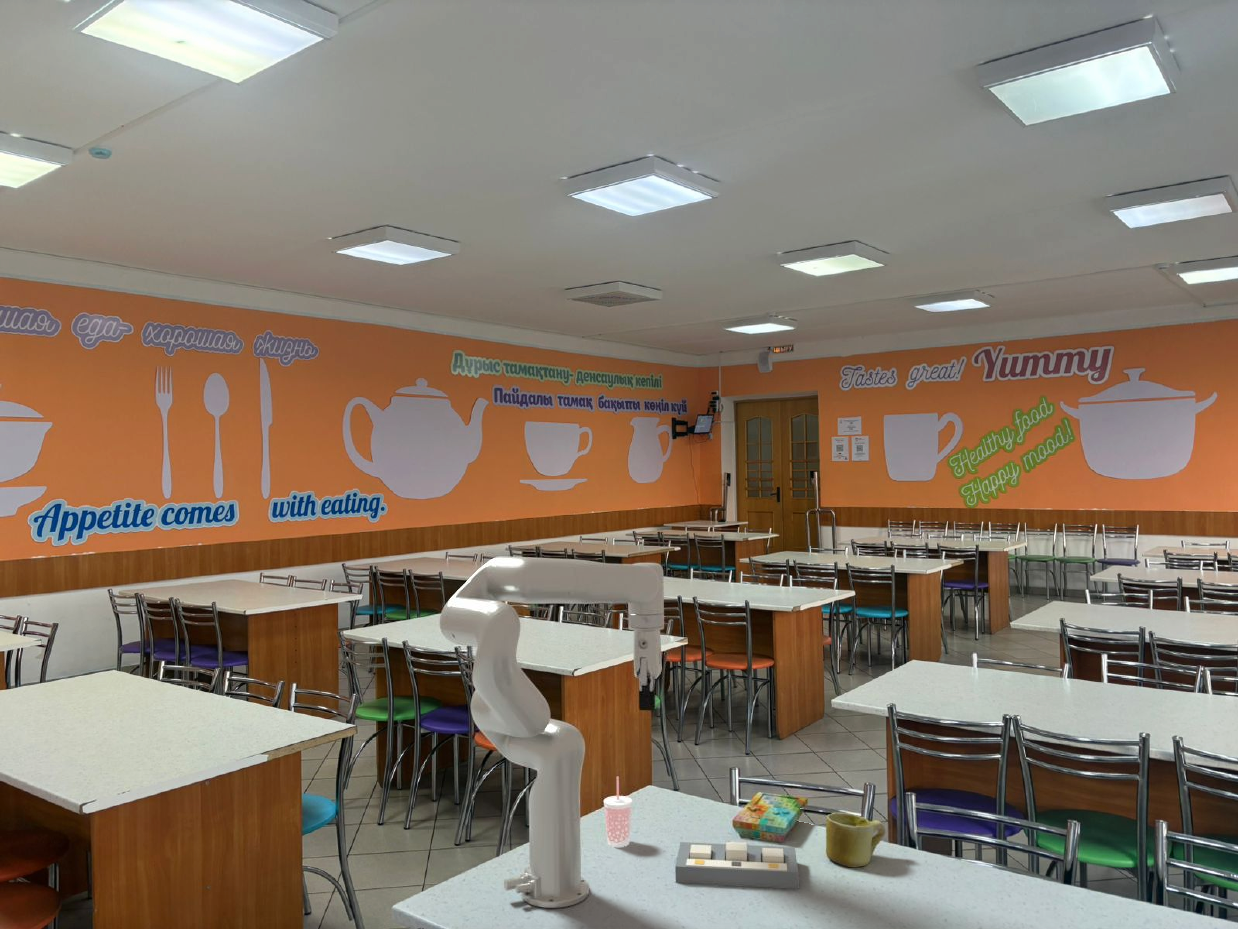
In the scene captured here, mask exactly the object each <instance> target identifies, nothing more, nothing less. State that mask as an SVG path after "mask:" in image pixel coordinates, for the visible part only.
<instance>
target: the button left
mask: <svg viewBox="0 0 1238 929" xmlns="http://www.w3.org/2000/svg"><path fill="white" fill-rule="evenodd" d="M690 859H704V860H712V853H711V845H691V849H690Z"/></svg>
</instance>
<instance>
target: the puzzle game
mask: <svg viewBox="0 0 1238 929" xmlns="http://www.w3.org/2000/svg"><path fill="white" fill-rule="evenodd" d="M808 802H809V801H808V798H806V797H799V796H792V795H785V794H778V793H777V794H776V793H769V792H762V791H761V792H760V791H758V793H756V794H755V795H754V797H753V798H751V800H750V801H749V802H747V803H746V804H745V806H743V808H742V809H741V810H740V811H739V812H738V813H737V814H736V815H735V816H733V818H732V828H733V829H734V830H735V832H736V833H737V834H738V836H740V835H741V836H740V837H747V838H752V839H759V840H765V841H772V842H777V843H778V842H779V843H783V841H784V840H785V839H786V837H787V835H788V834H789V833H790V832H791V830H793V828H794V826H795V825H796V824H797V822H798V820H799V819H800V818H801V816H802V815H803V812H804V810H805V809H806V808H807V806H808V804H809V803H808ZM798 805H800V806H798ZM801 806H802V807H805V808H804V810H801V809H800V808H802V807H801Z"/></svg>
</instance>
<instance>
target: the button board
mask: <svg viewBox="0 0 1238 929" xmlns="http://www.w3.org/2000/svg"><path fill="white" fill-rule="evenodd" d="M691 845H711V853H712V860H704V859H690V849H691ZM762 848H778V849H783V855H784V863H765V862H763V860H762ZM796 852H797V851H796V847H792V846H773V845H772V846H771V845H770V846H769V845H755V844H753V845H749V844H747V862H745V861H726V843H725V844H724V843H710V842H707V843H706V842H687V841H685V842H684V841H680V843H679V847H678V852H677V857H676V862H675V870H674V871H675V872H674V873H675V883H678V884H679V883H680V884H681V883H682V884H697V883H700V885H702V884H703V885H718V886H737V887H738V886H741V887H756V888H757V887H758V888H774V889H775V888H776V889H789V890H790V889H793V890H794V889H796V890H798V889H799V869H798V862H797V853H796Z"/></svg>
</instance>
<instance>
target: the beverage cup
mask: <svg viewBox="0 0 1238 929" xmlns="http://www.w3.org/2000/svg"><path fill="white" fill-rule="evenodd" d="M619 779H620V777H619V776H616V795H613V796H612V795H611V796H608V797H606V798H604V799H603V806H604V809H605V823H606V825H605V827H606V837H607V838H606V839H607V845H608V846H609V847H613V848H617V849H618V848H625V847H627V846H628V845H629V844H630V833H631V816H632V815H631V812H632V810H631V809H632V806H633V799H632V798H630V797H628V796H624V795H620V780H619ZM624 846H625V847H624Z"/></svg>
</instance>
